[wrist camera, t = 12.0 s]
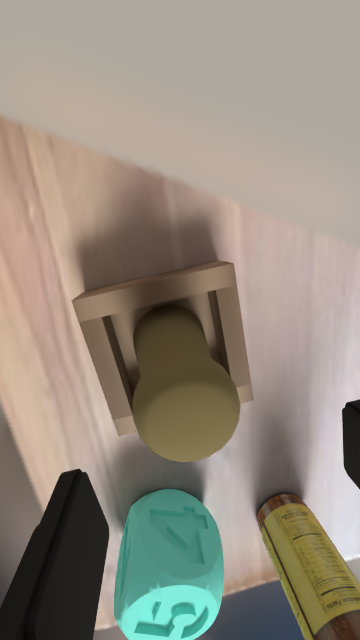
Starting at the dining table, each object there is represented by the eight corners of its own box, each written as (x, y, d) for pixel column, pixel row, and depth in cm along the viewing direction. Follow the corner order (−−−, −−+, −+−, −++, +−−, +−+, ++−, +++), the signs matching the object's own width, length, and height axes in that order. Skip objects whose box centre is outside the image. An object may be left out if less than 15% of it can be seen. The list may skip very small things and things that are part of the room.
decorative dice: (137, 482, 26) (134, 580, 18) (209, 492, 28) (234, 585, 20) (119, 539, 28) (108, 650, 20) (187, 545, 29) (202, 650, 22)
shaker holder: (218, 260, 21) (233, 263, 17) (237, 377, 24) (253, 400, 20) (84, 291, 20) (71, 300, 17) (122, 406, 23) (118, 436, 20)
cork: (154, 291, 20) (163, 339, 10) (217, 324, 22) (286, 398, 11) (120, 355, 21) (94, 461, 11) (183, 382, 23) (215, 500, 12)
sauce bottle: (290, 533, 31) (517, 981, 12) (245, 526, 30) (421, 1017, 11) (314, 491, 30) (615, 924, 11) (268, 482, 28) (517, 958, 9)
